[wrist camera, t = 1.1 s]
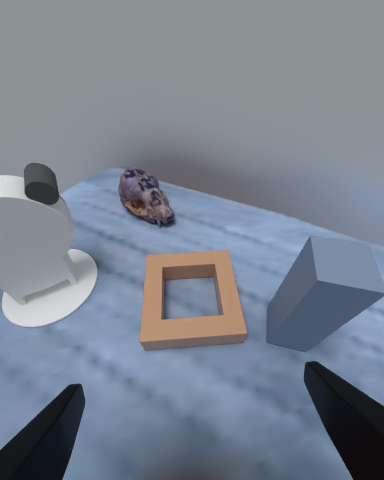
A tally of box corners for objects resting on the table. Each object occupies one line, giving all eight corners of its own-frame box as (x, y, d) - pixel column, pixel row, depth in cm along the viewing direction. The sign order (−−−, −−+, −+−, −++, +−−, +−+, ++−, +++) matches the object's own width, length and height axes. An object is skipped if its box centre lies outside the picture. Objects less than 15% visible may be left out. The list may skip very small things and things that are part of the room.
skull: (185, 221, 36) (184, 191, 32) (143, 240, 34) (135, 210, 29) (153, 186, 43) (148, 157, 39) (116, 199, 40) (106, 170, 36)
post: (305, 352, 23) (387, 293, 13) (266, 342, 24) (317, 280, 14) (301, 315, 26) (368, 244, 16) (266, 308, 26) (310, 235, 16)
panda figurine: (93, 238, 34) (44, 142, 23) (111, 298, 27) (53, 204, 16) (5, 268, 30) (-107, 172, 19) (1, 346, 24) (-176, 269, 12)
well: (242, 342, 24) (247, 333, 21) (145, 350, 23) (139, 341, 21) (225, 263, 31) (227, 250, 28) (150, 268, 30) (146, 255, 28)
